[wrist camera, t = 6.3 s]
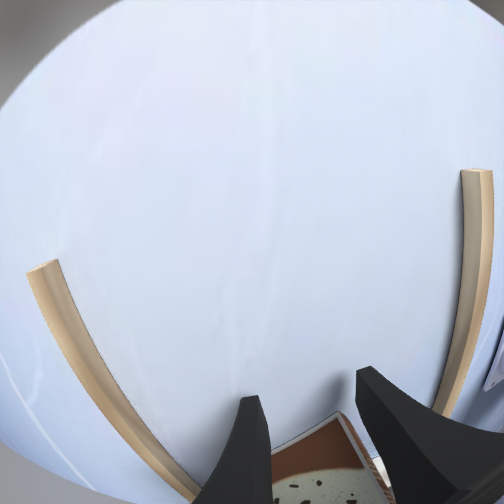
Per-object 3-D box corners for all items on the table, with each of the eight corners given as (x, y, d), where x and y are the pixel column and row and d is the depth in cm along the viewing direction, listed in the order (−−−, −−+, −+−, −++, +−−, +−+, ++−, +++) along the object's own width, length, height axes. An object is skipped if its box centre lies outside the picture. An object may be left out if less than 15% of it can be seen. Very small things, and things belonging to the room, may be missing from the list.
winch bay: (473, 168, 9) (569, 184, 3) (425, 443, 15) (450, 487, 9) (42, 263, 9) (-46, 323, 4) (199, 497, 15) (196, 548, 10)
